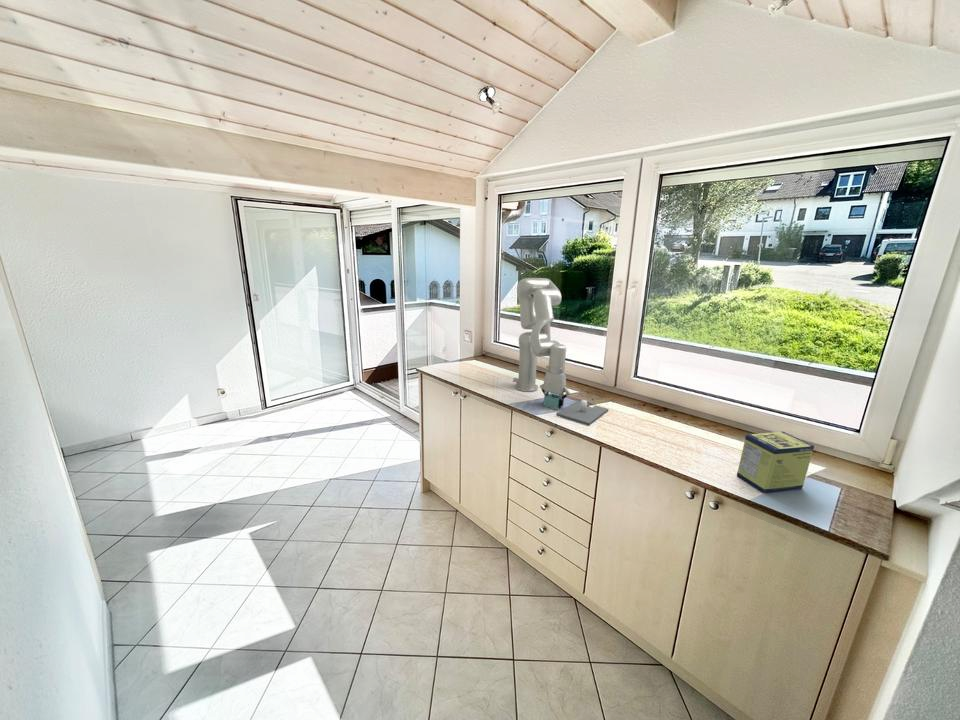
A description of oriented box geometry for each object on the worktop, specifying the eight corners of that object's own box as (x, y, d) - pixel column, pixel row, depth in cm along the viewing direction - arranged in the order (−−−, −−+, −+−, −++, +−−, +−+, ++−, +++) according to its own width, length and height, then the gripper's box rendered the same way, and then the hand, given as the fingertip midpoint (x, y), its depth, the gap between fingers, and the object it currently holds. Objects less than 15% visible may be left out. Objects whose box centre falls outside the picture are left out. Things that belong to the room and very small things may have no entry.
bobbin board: (556, 415, 173) (557, 403, 171) (577, 402, 189) (578, 391, 188) (589, 425, 163) (590, 412, 162) (608, 411, 180) (609, 399, 178)
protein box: (803, 489, 121) (815, 445, 117) (763, 494, 117) (775, 449, 113) (772, 471, 131) (783, 430, 127) (735, 475, 127) (744, 434, 123)
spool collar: (543, 405, 184) (544, 396, 183) (550, 402, 189) (551, 392, 188) (556, 409, 180) (557, 399, 179) (563, 405, 185) (564, 396, 184)
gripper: (536, 367, 182) (534, 402, 187) (569, 375, 172) (566, 411, 176) (544, 364, 188) (542, 398, 193) (576, 371, 177) (573, 406, 182)
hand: (553, 404), depth 184 cm, fingers closed on spool collar, 7 cm apart
